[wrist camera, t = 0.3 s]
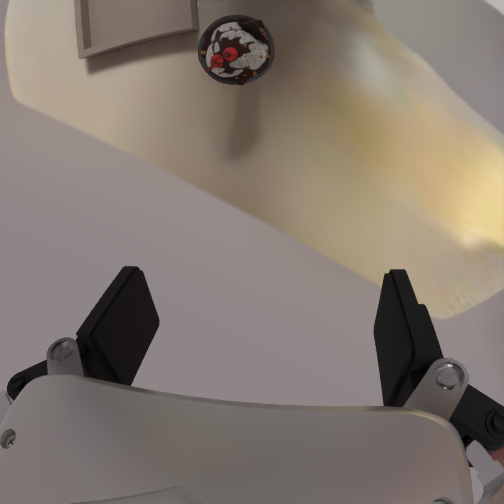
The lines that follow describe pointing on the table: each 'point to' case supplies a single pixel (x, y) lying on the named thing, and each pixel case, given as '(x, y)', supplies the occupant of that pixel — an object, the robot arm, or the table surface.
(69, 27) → the table surface
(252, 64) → the sundae
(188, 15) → the tray
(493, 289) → the table surface
